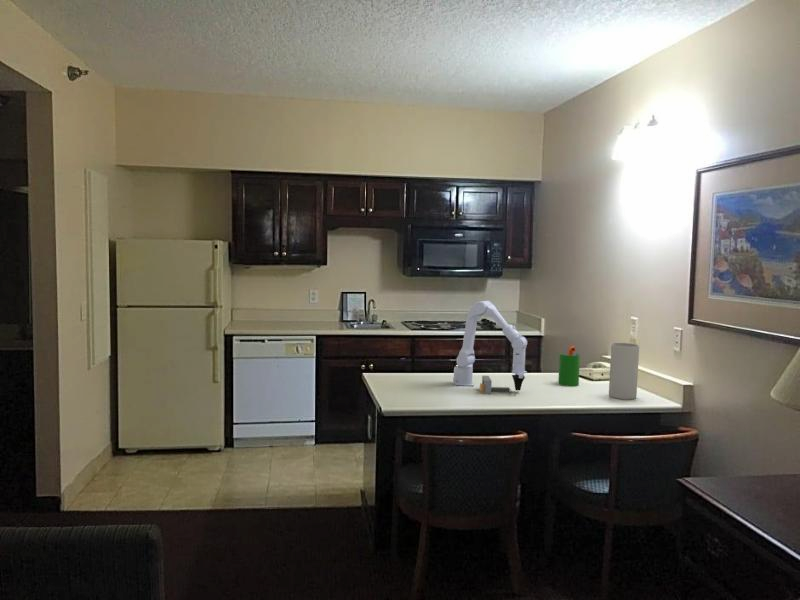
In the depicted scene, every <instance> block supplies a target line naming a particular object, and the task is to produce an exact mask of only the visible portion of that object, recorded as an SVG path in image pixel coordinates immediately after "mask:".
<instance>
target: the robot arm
mask: <svg viewBox="0 0 800 600" xmlns="http://www.w3.org/2000/svg"><path fill="white" fill-rule="evenodd" d="M483 315H484V316H486V317H491V318H492V319H493V320H494V321H495V322H496V323H497V324H498V326H500V327H501V329H502V334H503V335H504V336H505V337H506V338H507V339H508V341H509V342H510V343H511V347H512V350H513V353H512V370H511V373H512V374H511V376H512V379H513V383H514V384H513V385H514V389H515V390H516V391H521V389H522V384H523V381H525V378H526V377H525V374H527V373H528V371H526V347H528V346H527V345H528V339H527V338H526V337H525V336H523V335H522V334H520V332H518V331H517V329H516V326H515V325H512V324H508V322H507V321H506V319H504V317H503V316H502V314H501V313H500V312H499V311H498V309H497V307H496V306H495V305H494V304H493V302H491V300H488V299H487V300H482V301H477V302H474V303H473V304H472V306H471V308H470V309H469V310H468V312H467V313H466V321H465V326H464V327H465V328H464V333H463V340H462V341H463V342H462V347H461V349H460V350H459V351H458V352H459V353H458V356H457V357H456V364H457V366H454V368H453V379H452V381H453V384H454V385H453V386H465V387H466V386H467V387H469V386H471V387H473V386H474V383H473V374H474V373H473V371H474V370H473V369H474V367H473V365H474V363H475V361H476V356H475V350H474V344H475V339H476V331H477V325H478V324H477V323H478V319H479V318H480V317H482V316H483Z"/></svg>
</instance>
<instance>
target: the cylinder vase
mask: <svg viewBox="0 0 800 600" xmlns="http://www.w3.org/2000/svg"><path fill="white" fill-rule="evenodd" d="M610 344H611V345H610V362H609V363H610V364H609V365H610V366H609V380H608V381H609V382H608V395H609V397H610V398H613V399H616V400H617V399H618V400H635V399H637V397H638V396H637V395H638V393H637V392H638V378H639V377H638V376H639V363H640V362H639V360H640V357H639V356H640V345H639V344H636V343H628V342H612V343H610Z"/></svg>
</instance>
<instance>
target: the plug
mask: <svg viewBox="0 0 800 600" xmlns="http://www.w3.org/2000/svg"><path fill="white" fill-rule="evenodd" d="M479 392H480V393H484V383H482V382H481V383H479ZM510 392H511V389H510V387H506V386H503V387H502V386H501V387H500V386H491V393H507V394H508V393H510Z"/></svg>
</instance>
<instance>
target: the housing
mask: <svg viewBox="0 0 800 600" xmlns="http://www.w3.org/2000/svg"><path fill="white" fill-rule="evenodd" d="M481 378H482V379H481V380H482V381H481V383H484V392H483V393H484V394H485V395H492V392H491V387H492V382H493V381H492V379H491V377H490V375H482V376H481Z"/></svg>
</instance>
